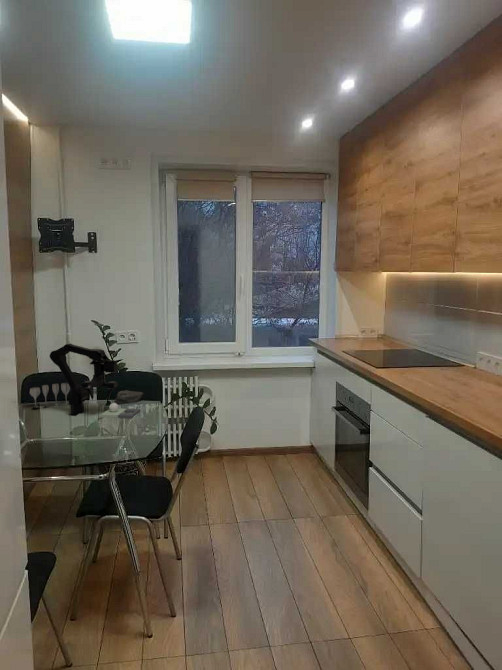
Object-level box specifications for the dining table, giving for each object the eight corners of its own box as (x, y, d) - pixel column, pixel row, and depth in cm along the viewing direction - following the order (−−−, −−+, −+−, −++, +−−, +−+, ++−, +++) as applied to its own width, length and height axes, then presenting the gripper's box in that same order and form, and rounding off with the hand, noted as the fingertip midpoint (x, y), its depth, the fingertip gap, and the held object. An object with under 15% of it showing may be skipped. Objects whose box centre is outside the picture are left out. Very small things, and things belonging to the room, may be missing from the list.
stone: (117, 402, 290) (114, 387, 295) (113, 408, 296) (111, 393, 301) (147, 400, 300) (144, 385, 305) (142, 406, 306) (139, 392, 311)
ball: (111, 414, 275) (106, 407, 275) (114, 412, 280) (109, 404, 280) (118, 409, 274) (113, 402, 274) (121, 407, 279) (116, 400, 279)
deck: (100, 417, 271) (100, 414, 271) (110, 410, 285) (110, 408, 285) (132, 418, 269) (131, 415, 269) (140, 411, 283) (140, 409, 283)
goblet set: (79, 402, 306) (78, 381, 304) (80, 404, 300) (80, 382, 299) (30, 407, 293) (29, 385, 292) (30, 409, 288) (29, 387, 287)
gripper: (76, 374, 269) (78, 402, 271) (109, 375, 267) (110, 403, 269) (85, 371, 280) (86, 397, 282) (117, 371, 278) (118, 398, 280)
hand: (100, 399), depth 278 cm, fingers open, 9 cm apart
